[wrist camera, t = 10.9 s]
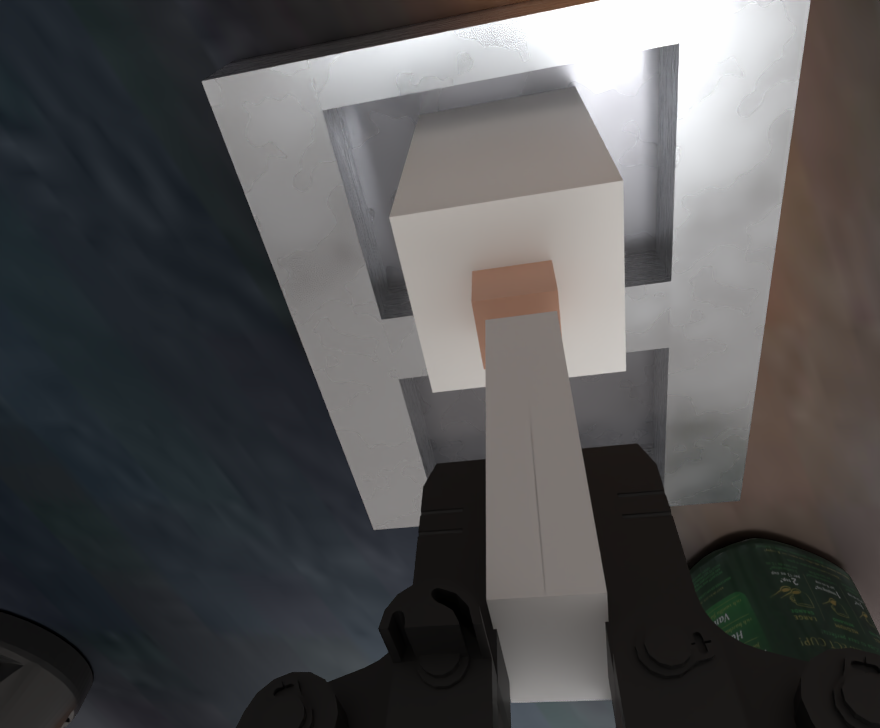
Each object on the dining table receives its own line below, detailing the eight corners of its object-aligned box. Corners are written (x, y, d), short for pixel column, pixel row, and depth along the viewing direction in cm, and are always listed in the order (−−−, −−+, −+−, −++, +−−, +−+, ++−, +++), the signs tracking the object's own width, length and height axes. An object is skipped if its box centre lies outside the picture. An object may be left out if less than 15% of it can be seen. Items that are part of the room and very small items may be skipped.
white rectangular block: (446, 253, 25) (429, 427, 17) (418, 115, 22) (381, 244, 14) (583, 233, 25) (636, 406, 16) (575, 86, 21) (636, 206, 13)
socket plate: (381, 486, 35) (373, 529, 32) (232, 61, 22) (201, 81, 20) (720, 455, 32) (739, 500, 30) (774, -51, 19) (816, -44, 17)
